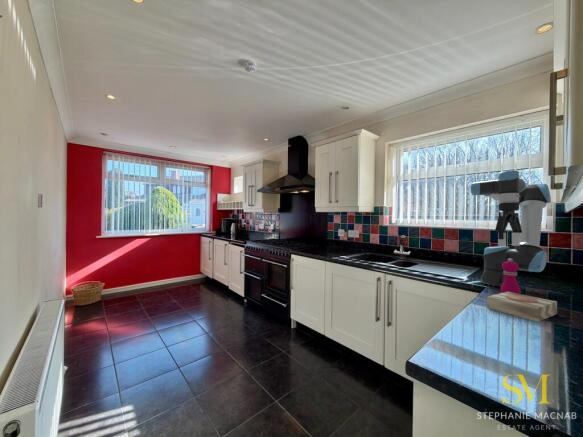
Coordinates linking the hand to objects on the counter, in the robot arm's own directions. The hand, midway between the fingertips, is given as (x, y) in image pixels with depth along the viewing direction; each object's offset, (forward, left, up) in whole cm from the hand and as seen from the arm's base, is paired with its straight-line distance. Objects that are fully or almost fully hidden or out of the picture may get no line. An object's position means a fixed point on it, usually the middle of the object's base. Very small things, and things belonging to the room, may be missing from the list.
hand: (509, 246), depth 118 cm
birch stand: (+16, +10, -26) cm, 32 cm away
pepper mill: (0, 0, -26) cm, 26 cm away
